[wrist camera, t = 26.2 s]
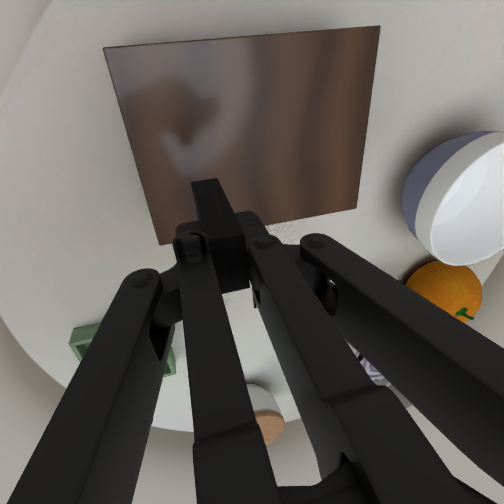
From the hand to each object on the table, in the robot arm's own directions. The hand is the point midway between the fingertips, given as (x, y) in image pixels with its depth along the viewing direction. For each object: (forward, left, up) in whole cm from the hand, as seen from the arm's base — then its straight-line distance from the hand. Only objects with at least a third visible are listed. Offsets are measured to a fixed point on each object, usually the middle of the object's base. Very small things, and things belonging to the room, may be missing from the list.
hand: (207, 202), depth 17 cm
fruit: (+36, -29, -17) cm, 50 cm away
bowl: (+32, -10, -17) cm, 38 cm away
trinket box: (+2, -48, -17) cm, 51 cm away
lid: (+6, 0, -10) cm, 12 cm away
